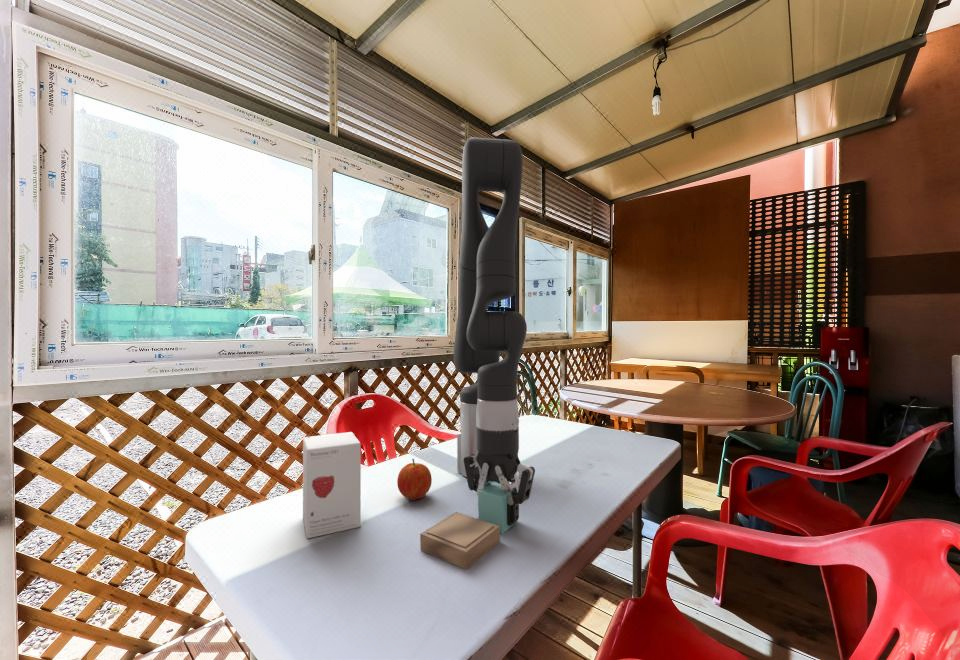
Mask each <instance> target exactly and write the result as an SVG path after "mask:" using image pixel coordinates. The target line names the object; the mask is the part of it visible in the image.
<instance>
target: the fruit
mask: <svg viewBox="0 0 960 660" xmlns="http://www.w3.org/2000/svg"><path fill="white" fill-rule="evenodd" d="M411 461H412V462H410V463H407V464H405V465H404V466H403V467H402V468H401V470H400V471H399V472H398V476H397V481H396V483H397V484H396V485H397V489H398V491H399V493H400V494H401V495H402V496H403V497H405V498H406V499H409V500H414V501H415V500H418V499H422V498H423V497H425V496H426V495H427V494H428V492H429V491H430V489H431V486H432V480H433V479H432V473H431V471H430V469H429V468H428V467H427V465H425V464H423V463H421V462H415V459H414V458H412V459H411Z"/></svg>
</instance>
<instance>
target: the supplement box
mask: <svg viewBox="0 0 960 660" xmlns="http://www.w3.org/2000/svg"><path fill="white" fill-rule="evenodd" d="M361 447H362V446H361V442H360V440H359V439H358V438H357V437H356V436H355V433H353V432H352V431H348V432H347V431H346V432H337V433H329V434H321V435H311V436H304V437H303V438H302V520H303V525H304V526H303V527H304V531H305V537H306V539H312V538H316V537H320V536H321V537H322V536H325V535H330V534H333V533H339V532H343V531H346V530H347V531H348V530H351V529H352V530H353V529H355V528H357V529H358V528H360V527H361V526H362V523H361V521H362V520H361V519H362V518H361V517H362V516H361V514H362V512H361V509H362V508H361V504H362V503H361V502H362V501H361V499H362V497H361V495H362V493H361V487H362V486H361V482H362V481H361V479H362V478H361V477H362V476H361V473H362V472H361V471H362V469H361V465H362V464H361V459H362V458H361V457H362V455H361V454H362V453H361V452H362V451H361V449H362V448H361Z"/></svg>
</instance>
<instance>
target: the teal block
mask: <svg viewBox="0 0 960 660" xmlns="http://www.w3.org/2000/svg"><path fill="white" fill-rule="evenodd" d="M477 499H478V500H477V501H478V504H477V506H478V509H479V510H478V509H477V510H478V519H479V520H482V521H485V522H489V523H492V524H495V525H498V526H500V534H504V533H505V532H506V531H508V530H509V529H510V528H512V527H513V526H514V525H515V524H513V525H512V526H509V525H507V504H508V502H507V496H506V495H505V492H503V491H502V488H501V484H499V483H497V482H495V481H493V482H492V484H491V485H488V486H486V487H485V489H481V490H479V491H478V495H477ZM518 522H519V520H518V521H516V523H518Z"/></svg>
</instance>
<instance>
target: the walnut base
mask: <svg viewBox="0 0 960 660" xmlns="http://www.w3.org/2000/svg"><path fill="white" fill-rule="evenodd" d="M419 534H420V537H419V538H420V539H419V540H420V544H419V545H420V548H419V549H420V551H422V552H424V553H427V554H430V555H432V556H434V557H437V558H438V559H441V560H444V561H445V562H448V563H450V564H453V565H455V566H458V567H460V568H462V569H465V570H468V569H469V568H470V567H471V566H472V565H473V564H475V563H476V562H477V561H478V560H480V558H482V557H483V556H484V555H486V554H487V553H489V551H490V550H492V549H493V548H494V547H495V546H497V544H499V543H500V542H501V533H500V526H498V525H495V524H492V523H489V522H485V521H482V520H479V518H476V517H473V516H470V515H467V514H463V513H461V512H457V511H456V512H454V513H452V514H450V515H448V516H446V518H444V519H443V520H440V521H439V522H438V523H436V524H434V525H432V526H431V527H429V528H428V529H426V530H425V531H422V532H420V533H419Z"/></svg>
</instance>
